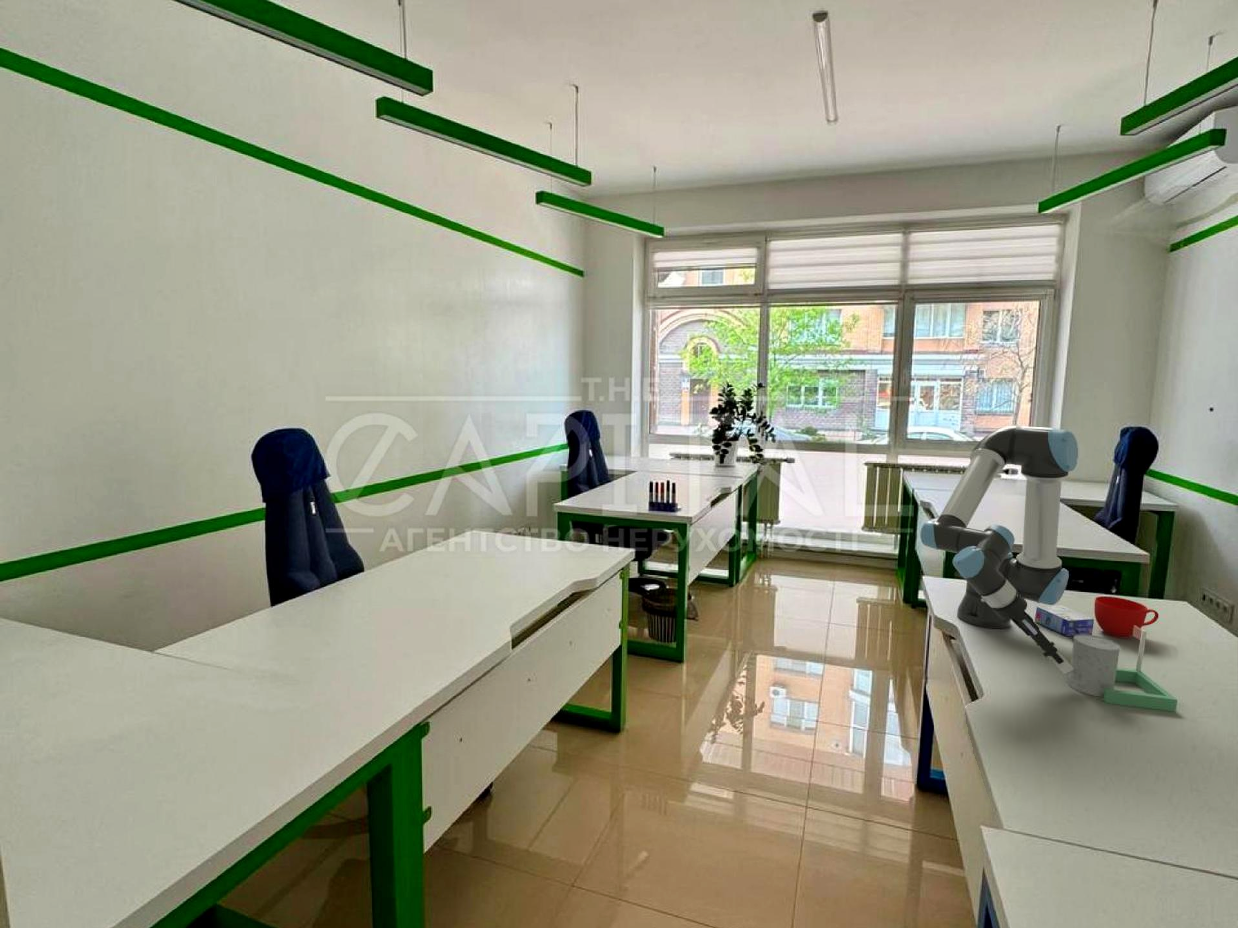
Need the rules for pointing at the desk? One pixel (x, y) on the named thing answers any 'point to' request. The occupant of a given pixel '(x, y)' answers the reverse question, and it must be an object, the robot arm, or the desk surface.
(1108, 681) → the speckled concrete drum
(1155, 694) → the green angular frame
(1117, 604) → the ceramic cup
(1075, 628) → the ink cartridge box
